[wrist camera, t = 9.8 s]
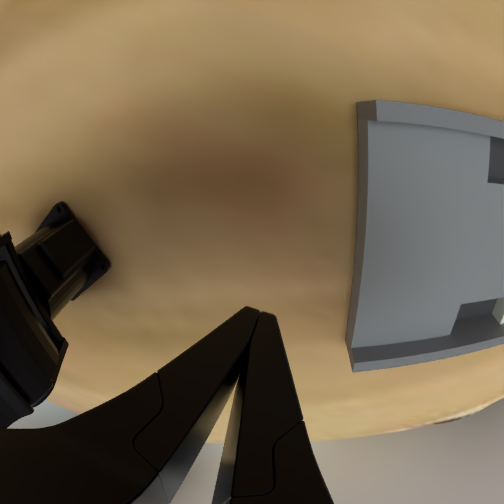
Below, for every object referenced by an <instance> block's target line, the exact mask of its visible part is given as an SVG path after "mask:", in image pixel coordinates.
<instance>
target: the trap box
mask: <svg viewBox="0 0 504 504" xmlns="http://www.w3.org/2000/svg"><path fill="white" fill-rule="evenodd" d="M357 118H358V212H357V232H356V247H355V260H354V272H353V282H352V291H351V300H350V308H349V316H348V324H347V331H346V337H345V341H346V345H347V349H348V354H349V358H350V363H351V367H352V372H361V371H370V370H378V369H386V368H393V367H400V366H406V365H412V364H418V363H424V362H429V361H435V360H440V359H445V358H449V357H454V356H458V355H463V354H467V353H471V352H475V351H479V350H483V349H487V348H490V347H494V346H497V345H501V344H504V122H503V121H499V120H495V119H491V118H487V117H483V116H479V115H475V114H470V113H465V112H461V111H456V110H450V109H445V108H439V107H433V106H426V105H419V104H411V103H403V102H393V101H383V100H372V101H364V102H357Z"/></svg>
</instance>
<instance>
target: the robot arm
mask: <svg viewBox="0 0 504 504" xmlns="http://www.w3.org/2000/svg"><path fill="white" fill-rule="evenodd" d="M60 208H61V210H60ZM11 239H12V237H11V235H10V232H9V231H8V232H6V233H4V234H2V235H0V504H170V503H171V500H172V499H173V497H174V496H175V494H176V492H177V491H178V489H179V487H180V486H181V484H182V482H183V481H184V479H185V477H186V475H187V474H188V472H189V470H190V468H191V467H192V465H193V463H194V461H195V460H196V458H197V456H198V454H199V452H200V451H201V449H202V447H203V445H204V443H205V442H206V440H207V438H208V436H209V434H210V433H211V431H212V429H213V427H214V425H215V423H216V421H217V420H218V418H219V416H220V414H221V412H222V410H223V408H224V406H225V405H226V403H227V401H228V399H229V397H230V395H231V393H232V391H233V389H234V387H235V385H236V382H237V380H238V382H237V385H236V389H235V394H234V399H233V404H232V409H231V413H230V418H229V423H228V428H227V433H226V438H225V443H224V447H223V452H222V457H221V462H220V467H219V471H218V476H217V481H216V485H215V490H214V495H213V499H212V504H334V503H333V500H332V498H331V495H330V493H329V491H328V488H327V486H326V484H325V482H324V479H323V477H322V474H321V472H320V469H319V467H318V464H317V461H316V459H315V456H314V454H313V450H312V447H311V444H310V440H309V437H308V434H307V430H306V426H305V422H304V421H302V420H303V415H302V411H301V408H300V404H299V400H298V396H297V393H296V389H295V385H294V381H293V377H292V374H291V370H290V366H289V362H288V359H287V355H286V351H285V348H284V344H283V340H282V336H281V333H280V329H279V325H278V322H277V318H276V316H275V315H274V314H271V313H267V312H264V311H262V312H260V311H259V310H258V309H255V308H252V307H248V306H245V307H244V308H242V309H241V310H240V311H238V312H237V313H236V314H234V315H233V316H232V317H230V318H229V319H228V320H226V321H225V322H224V323H222V324H221V325H220V326H218V327H217V328H216V329H214V330H213V331H212V332H210V333H209V334H208V335H206V336H205V337H204V338H202V339H201V340H199V341H198V342H197V343H195V344H194V345H193V346H191V347H190V348H189V349H187V350H186V351H184V352H183V353H182V354H180V355H179V356H177V357H176V358H175V359H173V360H172V361H170V362H169V363H168V364H166V365H165V366H163V367H162V368H161V369H159V370H158V371H157V373H156V372H155V373H153V374H152V375H150V376H149V377H148V378H146V379H145V380H143V381H142V382H140V383H139V384H137V385H136V386H134V387H132V388H131V389H129V390H128V391H126V392H124V393H122V394H120V395H119V396H117V397H115V398H113V399H111V400H109V401H107V402H105V403H103V404H101V405H99V406H97V407H95V408H93V409H91V410H89V411H86V412H84V413H82V414H80V415H78V416H76V417H74V418H71V419H69V420H67V421H65V422H62V423H60V424H57V425H54V426H50V427H45V428H39V429H38V428H37V429H6V428H7V427H9V426H10V425H11V424H12V423H13V422H15V421H17V420H18V419H20V418H22V417H24V416H27V415H30V414H32V413H33V412H34V409H33V407H36V406H37V405H39V404H40V403H42V402H43V401H44V400H45V399H46V398H47V397H48V396H49V395H50V393H51V392H52V390H53V388H54V386H55V383H56V380H57V377H58V374H59V371H60V368H61V365H62V362H63V359H64V356H65V353H66V350H67V348H68V345H69V344H68V342H67V341H66V339H65V338H64V337H62V335H61V334H60V332H59V331H58V329H57V327H56V326H55V324H54V322H53V321H52V320H53V319H54V318H55V317H56V316H57V315H58V313H59V312H60V311H61V310H62V309H63V308H64V307H65V305H66V304H67V303H68V302H69V301H70V300H72V301H73V300H75V299H76V298H77V297H78V296H79V295H80V294H81V293H83V292H84V291H85V290H86V289H87V288H88V287H90V286H91V285H92V284H93V283H94V282H95V281H97V280H98V279H99V278H100V277H101V276H102V275H104V274H105V273H106V272H107V271H108V270H109V269H110V267H111V265H110V262H109V261H108V260H107V258H106V257H105V256H104V255H103V253H102V252H101V251H100V250H99V248H98V247H97V246H96V245H95V243H94V242H93V241H92V240H91V238H90V237H89V236H88V234H87V233H86V232H85V231H84V229H83V228H82V227H81V225H80V224H79V223H78V221H77V220H76V219H75V217H74V216H73V214H72V213H71V212H70V210H69V209H68V208H67V206H66V205H65V204H64V203H63V202H59V203H57V204H56V205H55V206H54V207H53V209H52V210H51V211H50V213H49V214H48V215H47V217H46V218H45V219H44V221H43V222H42V224H41V225H40V227H39V228H38V229H37V231H36V232H35V233H34V234H33V235H31V236H30V237H28V238H27V239H26V240H24V241H23V242H21V243H20V244H18V245H17V246H16V247H14V245H13V243H12V240H11ZM103 264H104V265H105V267H104V266H103ZM259 314H260V315H259ZM238 377H239V378H238Z"/></svg>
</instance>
